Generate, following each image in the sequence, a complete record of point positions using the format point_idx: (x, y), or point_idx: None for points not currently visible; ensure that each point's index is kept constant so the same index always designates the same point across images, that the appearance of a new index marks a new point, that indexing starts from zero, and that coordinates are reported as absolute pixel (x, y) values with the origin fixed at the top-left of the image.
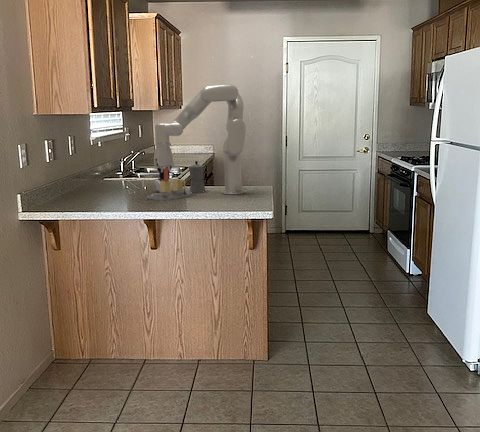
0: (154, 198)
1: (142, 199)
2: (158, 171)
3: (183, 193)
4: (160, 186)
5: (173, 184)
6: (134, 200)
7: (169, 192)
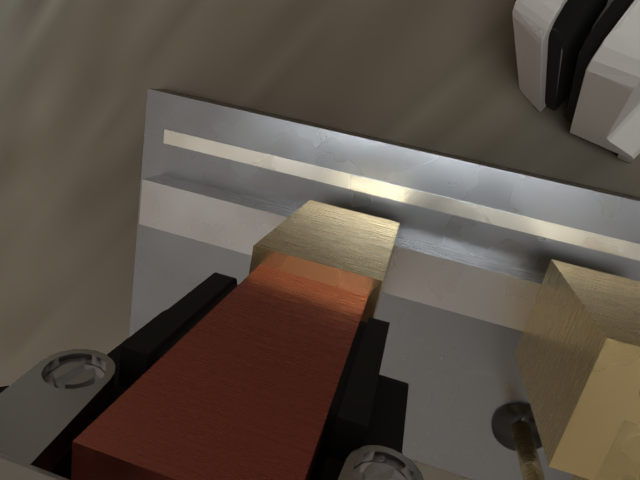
0: (140, 253)
1: (101, 95)
2: (49, 367)
3: (508, 415)
4: (287, 218)
5: (573, 301)
6: (16, 57)
7: (389, 289)
